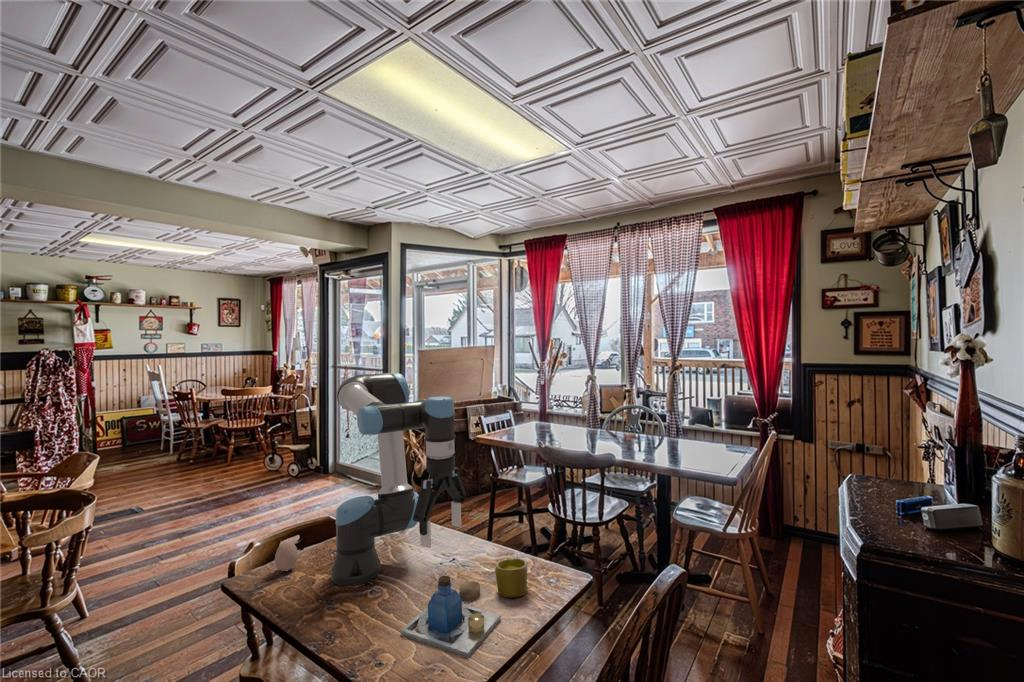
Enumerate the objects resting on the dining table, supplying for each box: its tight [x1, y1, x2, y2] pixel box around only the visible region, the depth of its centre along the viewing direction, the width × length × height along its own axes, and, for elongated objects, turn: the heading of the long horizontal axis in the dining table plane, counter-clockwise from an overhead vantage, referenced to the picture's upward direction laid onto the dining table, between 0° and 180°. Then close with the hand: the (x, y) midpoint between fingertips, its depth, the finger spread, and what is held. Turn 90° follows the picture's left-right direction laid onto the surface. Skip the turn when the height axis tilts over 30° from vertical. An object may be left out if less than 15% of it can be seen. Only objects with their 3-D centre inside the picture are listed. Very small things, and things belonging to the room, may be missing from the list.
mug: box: [495, 556, 528, 599], centre depth 131 cm, size 12×10×10 cm
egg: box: [274, 540, 299, 572], centre depth 146 cm, size 7×7×10 cm
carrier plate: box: [400, 604, 502, 659], centre depth 114 cm, size 20×16×4 cm
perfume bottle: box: [427, 575, 463, 633], centre depth 115 cm, size 6×6×12 cm
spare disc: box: [458, 580, 481, 601], centre depth 129 cm, size 6×6×2 cm
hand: (441, 535), depth 117 cm, fingers open, 13 cm apart
